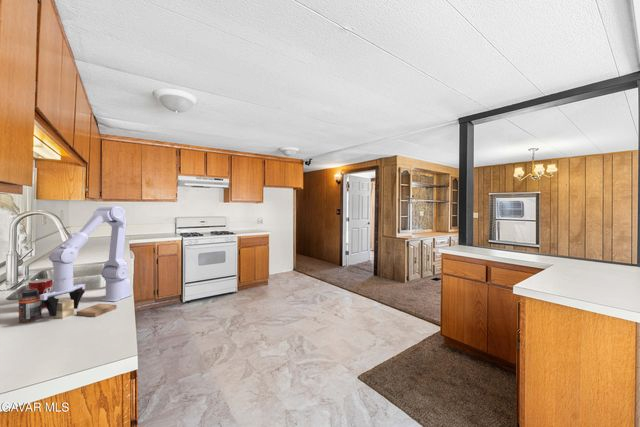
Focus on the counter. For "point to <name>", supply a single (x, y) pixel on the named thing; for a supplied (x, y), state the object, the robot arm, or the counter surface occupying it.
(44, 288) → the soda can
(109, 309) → the base
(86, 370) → the counter surface
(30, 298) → the supplement bottle
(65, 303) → the beech block
